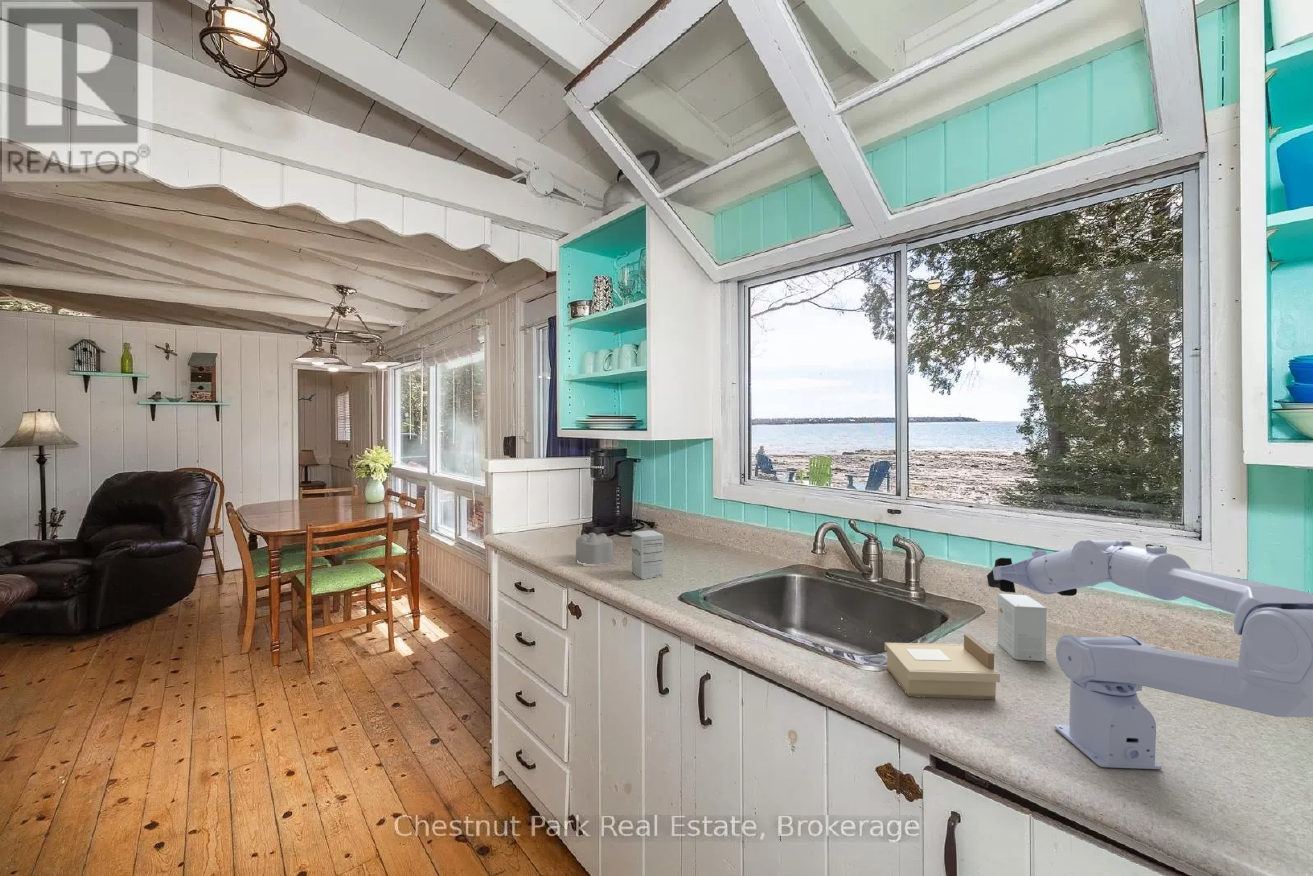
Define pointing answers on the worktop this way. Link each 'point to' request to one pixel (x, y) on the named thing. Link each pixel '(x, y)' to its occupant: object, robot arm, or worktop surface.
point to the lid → (946, 661)
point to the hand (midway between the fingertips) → (1011, 582)
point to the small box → (1022, 627)
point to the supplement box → (647, 554)
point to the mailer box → (939, 685)
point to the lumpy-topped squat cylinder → (594, 549)
